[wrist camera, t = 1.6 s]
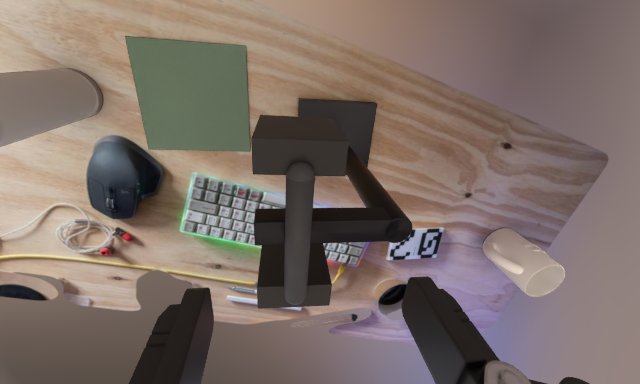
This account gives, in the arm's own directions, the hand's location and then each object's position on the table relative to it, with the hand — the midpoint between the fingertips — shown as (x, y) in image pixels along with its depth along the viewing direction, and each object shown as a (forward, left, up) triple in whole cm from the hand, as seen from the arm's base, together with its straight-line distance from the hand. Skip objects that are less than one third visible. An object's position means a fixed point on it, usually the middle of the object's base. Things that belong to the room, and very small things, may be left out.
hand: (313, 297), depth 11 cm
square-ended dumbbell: (+3, 0, -15) cm, 16 cm away
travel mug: (-2, -28, -36) cm, 46 cm away
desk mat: (-2, -13, -36) cm, 38 cm away
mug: (+25, +46, -36) cm, 64 cm away
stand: (+3, +5, -36) cm, 36 cm away
